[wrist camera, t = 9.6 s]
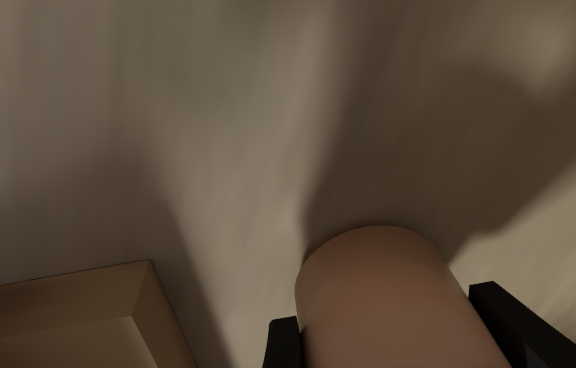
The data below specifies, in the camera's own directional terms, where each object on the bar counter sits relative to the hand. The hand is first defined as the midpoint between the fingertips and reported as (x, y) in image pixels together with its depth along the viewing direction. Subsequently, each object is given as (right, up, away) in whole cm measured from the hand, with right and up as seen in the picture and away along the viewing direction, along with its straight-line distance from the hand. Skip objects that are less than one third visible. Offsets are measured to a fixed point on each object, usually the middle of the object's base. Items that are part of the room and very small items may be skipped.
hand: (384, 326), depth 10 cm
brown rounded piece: (0, +1, +1) cm, 2 cm away
